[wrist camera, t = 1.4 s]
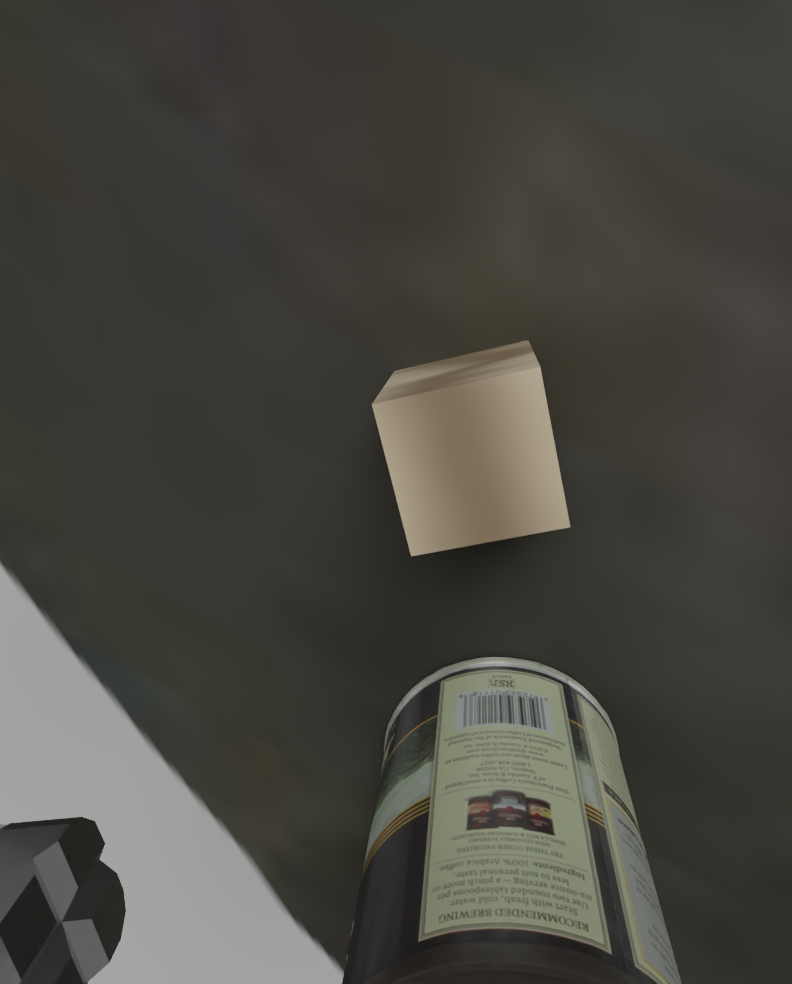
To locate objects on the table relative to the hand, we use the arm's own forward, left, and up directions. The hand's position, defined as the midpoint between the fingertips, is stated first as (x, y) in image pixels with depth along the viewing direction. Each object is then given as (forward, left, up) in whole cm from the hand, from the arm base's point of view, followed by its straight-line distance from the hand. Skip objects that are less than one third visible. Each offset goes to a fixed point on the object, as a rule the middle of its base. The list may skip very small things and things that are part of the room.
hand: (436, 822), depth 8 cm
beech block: (0, 0, -21) cm, 21 cm away
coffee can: (+2, +15, -21) cm, 26 cm away
